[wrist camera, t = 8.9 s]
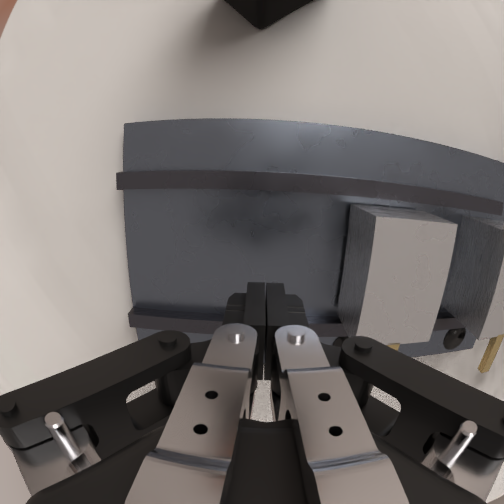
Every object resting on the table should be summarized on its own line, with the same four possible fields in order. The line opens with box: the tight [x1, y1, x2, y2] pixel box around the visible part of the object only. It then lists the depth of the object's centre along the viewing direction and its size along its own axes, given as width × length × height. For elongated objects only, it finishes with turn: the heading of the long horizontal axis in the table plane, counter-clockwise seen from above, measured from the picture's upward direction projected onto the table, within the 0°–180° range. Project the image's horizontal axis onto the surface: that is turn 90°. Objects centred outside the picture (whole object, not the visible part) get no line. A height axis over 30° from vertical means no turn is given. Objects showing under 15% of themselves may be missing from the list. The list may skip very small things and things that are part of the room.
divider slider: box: [337, 204, 458, 351], centre depth 16 cm, size 5×10×4 cm, turn 178°
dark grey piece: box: [116, 119, 504, 373], centre depth 16 cm, size 28×16×6 cm, turn 88°
